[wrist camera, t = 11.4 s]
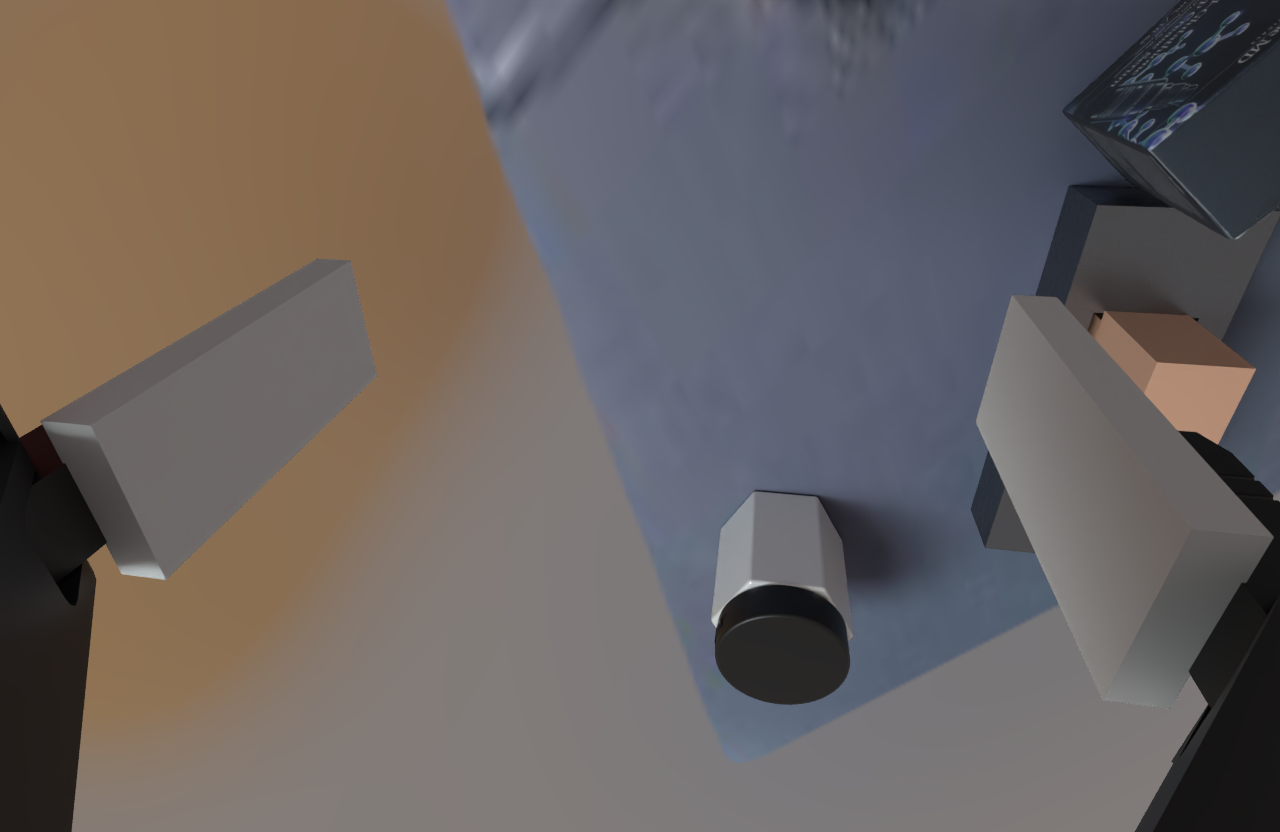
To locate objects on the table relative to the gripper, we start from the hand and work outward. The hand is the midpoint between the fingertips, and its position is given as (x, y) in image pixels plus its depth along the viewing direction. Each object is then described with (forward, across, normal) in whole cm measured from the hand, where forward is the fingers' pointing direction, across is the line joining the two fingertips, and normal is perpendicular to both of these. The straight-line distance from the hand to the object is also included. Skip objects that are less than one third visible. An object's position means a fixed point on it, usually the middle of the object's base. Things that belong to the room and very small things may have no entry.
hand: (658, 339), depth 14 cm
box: (+29, +21, +2) cm, 36 cm away
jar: (+29, +5, -29) cm, 41 cm away
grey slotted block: (+29, +22, -14) cm, 39 cm away
